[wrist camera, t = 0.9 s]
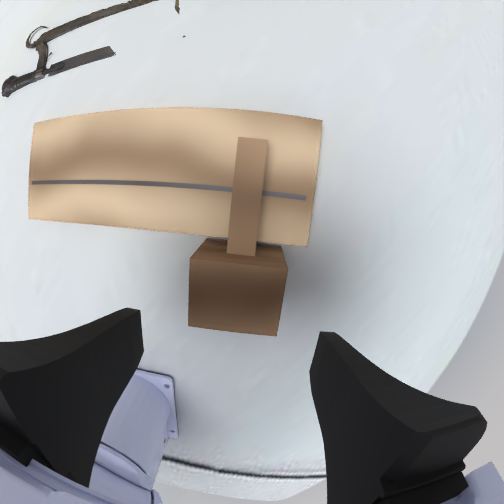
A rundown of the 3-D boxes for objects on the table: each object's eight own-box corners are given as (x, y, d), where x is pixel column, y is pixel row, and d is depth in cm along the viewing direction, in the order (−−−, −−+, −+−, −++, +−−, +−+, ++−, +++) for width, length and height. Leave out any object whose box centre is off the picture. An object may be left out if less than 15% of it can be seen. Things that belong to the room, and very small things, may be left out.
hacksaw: (4, 101, 16) (-4, 101, 15) (20, 22, 12) (13, 20, 11) (230, 48, 16) (229, 42, 15) (236, -39, 13) (236, -48, 12)
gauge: (272, 299, 20) (276, 336, 15) (204, 291, 20) (188, 325, 15) (291, 150, 17) (304, 139, 12) (216, 142, 17) (201, 129, 12)
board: (303, 241, 19) (307, 247, 17) (39, 216, 19) (28, 219, 17) (317, 124, 17) (322, 120, 15) (45, 124, 17) (33, 123, 15)
